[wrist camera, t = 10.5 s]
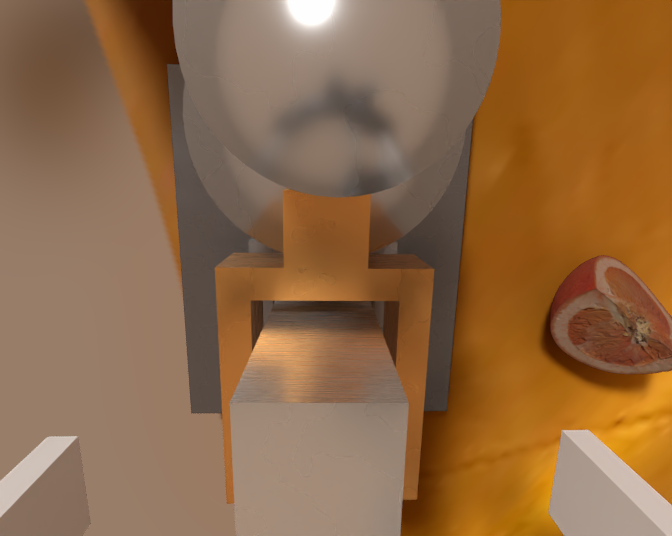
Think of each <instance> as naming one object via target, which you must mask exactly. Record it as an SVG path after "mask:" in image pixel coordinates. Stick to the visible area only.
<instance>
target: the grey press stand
mask: <svg viewBox="0 0 672 536" xmlns="http://www.w3.org/2000/svg"><path fill="white" fill-rule="evenodd" d="M500 25H501V7H500V0H173V30H174V38H175V46H176V51H177V55H178V60H179V64H167V72H168V87H169V101H170V115H171V129H172V144H173V158H174V172H175V186H176V201H177V215H178V229H179V243H180V258H181V272H182V286H183V300H184V315H185V328H186V341H187V342H186V343H187V356H188V372H189V386H190V400H191V413H222V419H223V437H224V458H225V477H226V495H227V503H228V504H230V503H234V486H233V465H232V444H231V422H230V401H231V398H232V396H233V394H234V392H235V390H236V387H237V385H238V383H239V381H240V378H241V376H242V374H243V372H244V369H245V367H246V365H247V363H248V360H249V358H250V356H251V354H252V351H253V349H254V347H255V345H256V342H257V340H258V338H259V336H260V334H261V331H262V329H263V327H264V325H265V322H266V320H267V318H268V316H269V313H270V311H271V309H272V307H273V304H274V302H275V301H371V304H372V307H373V309H374V312H375V315H376V317H377V320H378V323H379V325H380V328H381V331H382V333H383V336H384V339H385V341H386V344H387V347H388V349H389V352H390V355H391V357H392V360H393V363H394V365H395V368H396V371H397V373H398V376H399V378H400V381H401V384H402V386H403V389H404V392H405V394H406V397H407V400H408V402H409V408H408V423H407V439H406V454H405V470H404V485H403V500H417V493H418V479H419V466H420V453H421V440H422V426H423V413H424V411H447V401H448V390H449V379H450V368H451V357H452V346H453V334H454V323H455V312H456V301H457V290H458V279H459V268H460V257H461V245H462V234H463V223H464V212H465V201H466V190H467V179H468V168H469V156H470V145H471V134H472V123H473V118H474V116H475V114H476V112H477V110H478V109H479V107H480V105H481V103H482V101H483V98H484V96H485V94H486V91H487V89H488V86H489V84H490V81H491V77H492V74H493V70H494V67H495V63H496V59H497V53H498V47H499V40H500Z"/></svg>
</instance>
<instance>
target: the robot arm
mask: <svg viewBox="0 0 672 536" xmlns="http://www.w3.org/2000/svg"><path fill="white" fill-rule="evenodd" d="M549 514H550V516H551V517H552V519H553V520H554V522H555V523H556V524H557V526H558V527H559V529H560V530H561V532H562V533H563V534H564V536H672V505H671V504H670V503H669V502H667V501H666V500H665V499H664V498H663V497H662V496H661V495H660V494H659V493H657V492H656V491H655V490H654V489H653V488H652V487H651V486H650V485H649V484H648V483H646V482H645V481H644V480H643V479H642V478H641V477H640V476H639V475H638V474H637V473H635V472H634V471H633V470H632V469H631V468H630V467H629V466H628V465H627V464H626V463H624V462H623V461H622V460H621V459H620V458H619V457H618V456H617V455H616V454H615V453H613V452H612V451H611V450H610V449H609V448H608V447H607V446H606V445H605V444H603V443H602V442H601V441H600V440H599V439H598V438H597V437H596V436H595V435H594V434H592V433H591V432H590V431H589V430H562V434H561V440H560V446H559V452H558V458H557V464H556V470H555V476H554V483H553V489H552V495H551V501H550V507H549ZM90 524H91V523H90V516H89V509H88V502H87V494H86V487H85V481H84V474H83V467H82V460H81V453H80V446H79V439H78V436H59V437H58V436H56V437H47V438H46V439H45V440H44V441H43V442H42V443H41V444H40V445H38V446H37V448H35V449H34V450H33V451H32V452H31V453H30V454H29V455H28V456H27V457H26V458H25V459H23V460H22V461H21V462H20V463H19V464H18V465H17V466H16V467H15V468H14V469H13V470H12V471H11V472H9V473H8V474H7V475H6V476H5V477H4V478H3V479H2V480H1V481H0V536H83V534H84V533H85V531H86V530H87V528H88V527H89V525H90Z"/></svg>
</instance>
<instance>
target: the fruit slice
mask: <svg viewBox="0 0 672 536" xmlns="http://www.w3.org/2000/svg"><path fill="white" fill-rule="evenodd" d="M550 330H551V334H552V337H553V338H554V340H555V343H556V344H557V345H558V346H559V347H560V348H561V349H562V350H563V351H564V352H565V353H566V354H568V355H569V356H571V357H572V358H574V359H576V360H578V361H580V362H582V363H584V364H586V365H589V366H591V367H593V368H596V369H599V370H602V371H606V372H611V373H616V374H650V373H659V372H663V371H664V372H666V371H671V370H672V317H671V315H670V314H669V313H668V312H667V311H666V309H665V308H664V307H663V305H662V304H661V303H660V302H659V301H658V299H657V298H656V297H655V295H654V294H653V293H652V292H651V291H650V289H649V288H648V287H647V286H646V285H645V284H644V282H643V281H642V280H641V279H640V278H639V277H638V276H637V275H636V274H635V273H634V272H633V271H632V270H631V269H630V268H628V267H627V266H626V265H625V264H623V263H622V262H621V261H619V260H617V259H615V258H613V257H610V256H604V255H601V256H598V257H595V258H592V259H590V260H588V261H586V262H584V263H582V264H581V265H580V266H578V267H577V268H576V269H575V270H573V271H572V272H571V273H570V274H569V275H568V276H567V278H566V279H565V280H564V281H563V283H562V284H561V285H560V286H559V288H558V290H557V292H556V294H555V297H554V300H553V303H552V306H551V312H550Z"/></svg>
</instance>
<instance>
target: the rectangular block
mask: <svg viewBox="0 0 672 536" xmlns="http://www.w3.org/2000/svg"><path fill="white" fill-rule="evenodd" d="M408 408H409V402H408V400H407V397H406V394H405V392H404V389H403V386H402V384H401V381H400V378H399V376H398V373H397V371H396V368H395V365H394V363H393V360H392V357H391V355H390V352H389V349H388V347H387V344H386V341H385V339H384V336H383V333H382V331H381V328H380V325H379V323H378V320H377V317H376V315H375V312H374V309H373V307H372V304H371V301H275V302H274V304H273V307H272V309H271V311H270V313H269V316H268V318H267V320H266V322H265V325H264V327H263V329H262V331H261V334H260V336H259V338H258V340H257V342H256V345H255V347H254V349H253V351H252V354H251V356H250V358H249V360H248V363H247V365H246V367H245V369H244V372H243V374H242V376H241V378H240V381H239V383H238V385H237V387H236V390H235V392H234V394H233V396H232V398H231V401H230V422H231V444H232V465H233V486H234V506H235V507H234V508H235V529H236V536H400V531H401V516H402V500H403V485H404V470H405V454H406V439H407V423H408Z"/></svg>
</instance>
